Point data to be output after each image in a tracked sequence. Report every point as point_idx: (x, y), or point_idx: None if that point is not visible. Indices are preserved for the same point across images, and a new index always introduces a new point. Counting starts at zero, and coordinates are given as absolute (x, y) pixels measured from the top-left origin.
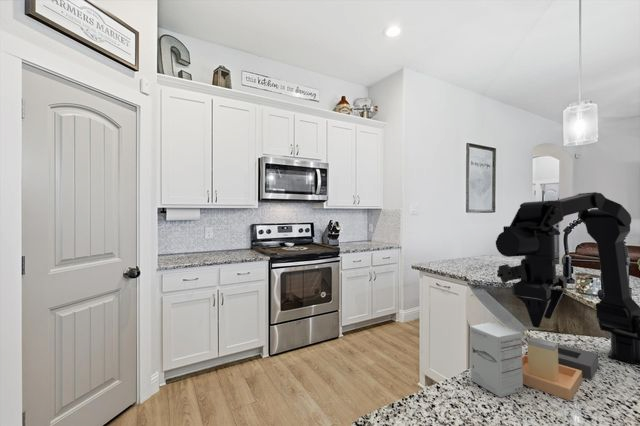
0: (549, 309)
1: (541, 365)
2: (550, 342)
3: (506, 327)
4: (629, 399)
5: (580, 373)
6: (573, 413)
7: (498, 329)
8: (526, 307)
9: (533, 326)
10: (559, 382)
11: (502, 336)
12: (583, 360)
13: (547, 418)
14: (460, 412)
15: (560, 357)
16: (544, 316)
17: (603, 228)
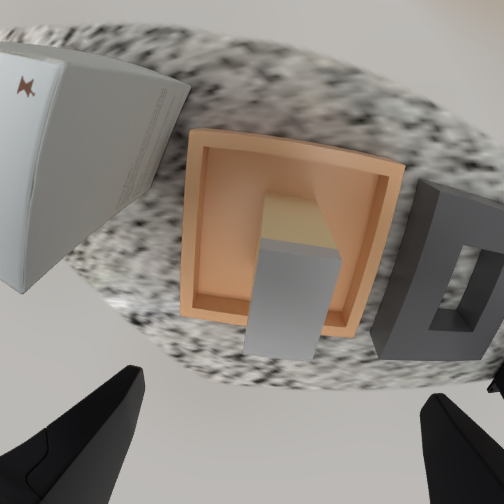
0: (438, 463)
1: (256, 254)
2: (300, 341)
3: (30, 199)
4: (301, 384)
5: (328, 335)
6: (131, 299)
7: None
8: (11, 452)
9: (129, 366)
10: None
11: None
12: (419, 342)
13: (67, 256)
14: None
15: (413, 292)
16: (437, 397)
17: None
